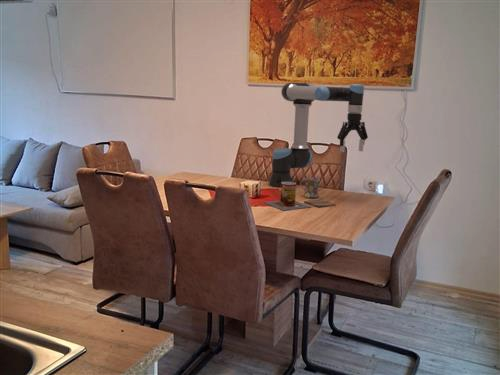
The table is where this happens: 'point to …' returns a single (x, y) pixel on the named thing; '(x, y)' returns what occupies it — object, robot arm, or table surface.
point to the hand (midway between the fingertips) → (351, 151)
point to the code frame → (301, 206)
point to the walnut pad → (319, 203)
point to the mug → (311, 187)
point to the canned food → (288, 194)
